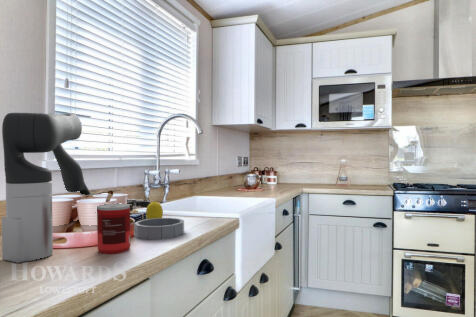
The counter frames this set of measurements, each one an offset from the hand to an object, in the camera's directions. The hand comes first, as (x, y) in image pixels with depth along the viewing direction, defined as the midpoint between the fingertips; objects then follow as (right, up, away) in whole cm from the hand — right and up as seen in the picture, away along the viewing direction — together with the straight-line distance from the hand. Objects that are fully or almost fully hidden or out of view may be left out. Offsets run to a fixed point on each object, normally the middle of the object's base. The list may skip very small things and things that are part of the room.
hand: (141, 206), depth 121 cm
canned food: (+3, -6, -34) cm, 35 cm away
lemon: (+5, -6, -3) cm, 8 cm away
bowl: (+10, -6, -17) cm, 20 cm away
